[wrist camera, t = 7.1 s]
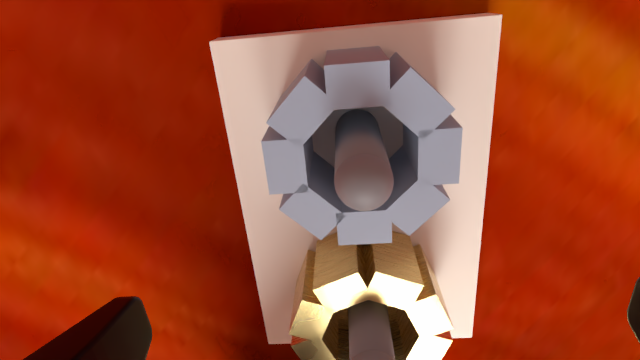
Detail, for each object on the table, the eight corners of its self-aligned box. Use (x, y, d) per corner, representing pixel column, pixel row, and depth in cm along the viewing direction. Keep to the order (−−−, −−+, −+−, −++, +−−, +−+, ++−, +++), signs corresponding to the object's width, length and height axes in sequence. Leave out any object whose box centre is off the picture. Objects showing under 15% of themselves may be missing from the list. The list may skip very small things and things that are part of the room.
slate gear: (434, 195, 18) (455, 239, 15) (288, 204, 18) (277, 248, 15) (440, 40, 15) (467, 53, 12) (267, 55, 16) (250, 71, 12)
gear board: (463, 316, 23) (515, 452, 16) (272, 323, 24) (246, 455, 17) (488, 12, 16) (595, 28, 9) (219, 37, 17) (140, 68, 10)
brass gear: (451, 307, 21) (471, 364, 17) (335, 346, 22) (335, 406, 19) (400, 205, 18) (414, 251, 15) (275, 257, 20) (263, 309, 16)
